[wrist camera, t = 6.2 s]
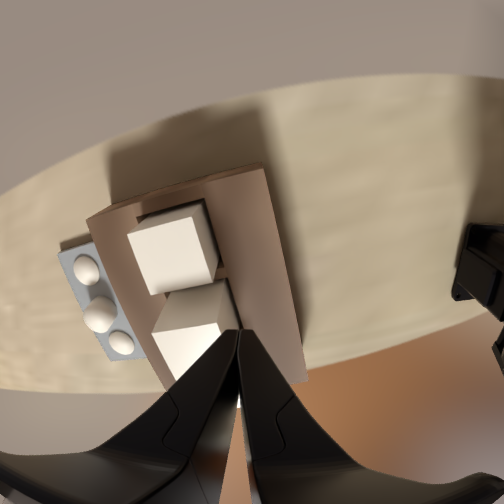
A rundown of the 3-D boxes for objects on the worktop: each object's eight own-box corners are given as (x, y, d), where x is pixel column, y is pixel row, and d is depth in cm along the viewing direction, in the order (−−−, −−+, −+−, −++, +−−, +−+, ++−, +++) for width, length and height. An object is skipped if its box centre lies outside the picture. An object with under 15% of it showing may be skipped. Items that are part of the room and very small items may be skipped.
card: (105, 236, 19) (90, 248, 17) (156, 352, 23) (149, 370, 21) (60, 251, 19) (45, 262, 17) (113, 356, 23) (104, 373, 21)
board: (261, 162, 17) (263, 168, 14) (302, 349, 22) (308, 380, 19) (111, 204, 18) (85, 219, 15) (180, 368, 23) (171, 399, 20)
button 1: (208, 194, 17) (191, 216, 13) (222, 244, 19) (212, 282, 14) (158, 207, 18) (126, 234, 13) (174, 255, 19) (150, 295, 14)
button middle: (225, 272, 18) (216, 322, 13) (240, 318, 19) (236, 374, 14) (174, 283, 18) (151, 333, 13) (191, 326, 19) (176, 381, 14)
